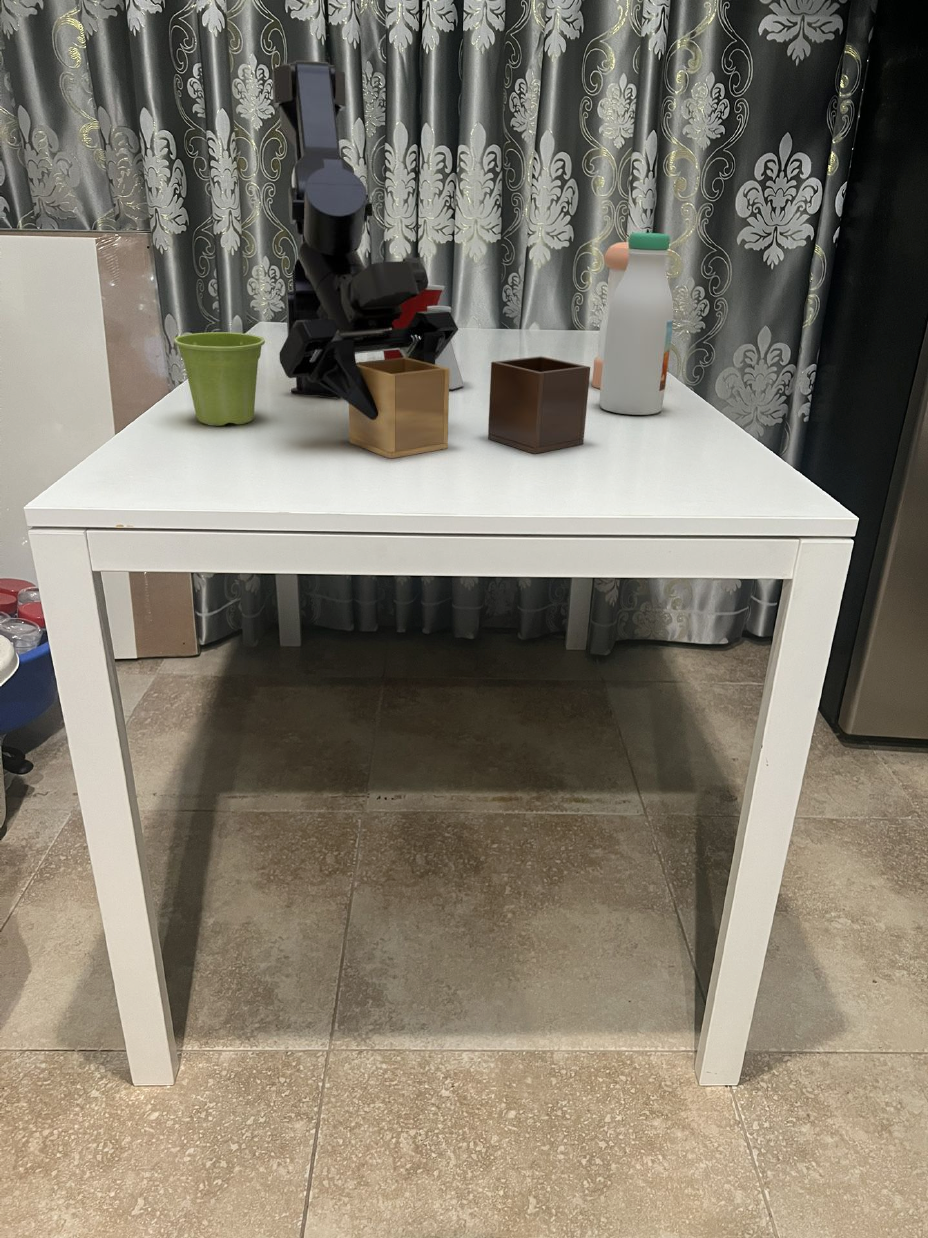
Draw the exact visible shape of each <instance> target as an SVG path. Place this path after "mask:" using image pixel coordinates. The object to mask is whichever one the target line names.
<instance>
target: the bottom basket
mask: <svg viewBox="0 0 928 1238" xmlns="http://www.w3.org/2000/svg"><path fill="white" fill-rule="evenodd" d="M590 375H591V366H588V365H584V364H579V363H573V362H569V361H565V360H561V359H556V358H551V357H547V356H543V355H539V356H533V357H530V356H529V357H523V358H522V357H521V358H514V359H513V358H512V359H504V360H495V361H491V363H490V380H489V381H490V382H489V403H488V405H489V407H488V425H487V440H490V441H494V442H497V443H499V444H503V445H506V446H508V447H512V448H514V449H518V450H521V451H524V452H527V453H531V454H533V455H536V454H540V453H546V452H551V451H557V450H561V449H565V448H571V447H576V446H581V445H584V441H585V439H584V438H585V433H586V432H585V430H586V419H587V408H588V397H589V387H590V385H589V384H590Z"/></svg>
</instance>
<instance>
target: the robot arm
mask: <svg viewBox="0 0 928 1238" xmlns="http://www.w3.org/2000/svg"><path fill="white" fill-rule="evenodd" d="M271 75H272V76H271V78H272V79H271V80H272V81H271V82H272V83H271V85H272V101H273V107H274V108H279V109H278V110H279V120H280V121H279V122H280V129H281V130H282V132H283V133H284V134H285V136H286V137H287V138H288V140H289V141H290V143H291V144H292V145H293V147H294V156H295V164H294V167H293V173H294V177H293V180H294V182H293V183H294V184H293V185H294V186H292V187H290V186H289V187H288V214H289V215H288V216H289V223H290V225H296V233H297V234H298V235H299V236H300V242H301V243H300V248H299V251H298V258H297V259H296V261H295V264H294V267H293V270H292V272H291V290H286V327H287V329H286V330H287V337H286V339H285V341H284V343H283V345H282V347H281V349H280V351H279V352H278V353H279V354H278V355H279V363H280V365H281V367H282V369H283V372H284V373H285V376H286V377H287V378H289V379H295V384H296V385H295V387H294V388H291V389H290V394H294V395H300V396H302V395H303V396H312V397H313V396H314V397H324V398H335V399H337V398H338V399H339V398H341V399H343V400H344V401H345V402H347V403H348V405H349V404H351V405H352V406H353V407H355V408H356V409H357V410H359V411H360V412H361V413H363V414H364V415H365V416H367V417H368V418H369V419H371V420H375V419H376V418H377V416H378V410H377V407H376V405H375V402H374V399H373V397H372V395H371V393H370V391H369V389H368V387H367V385H366V383H365V380H364V378H363V376H362V374H361V372H360V370H359V368H358V366H357V364H356V363H357V360H356V354H357V355H358V354H366V353H377V352H383V351H388V350H398V349H399V352H400V354H401V356H402V358H404V357H407V358H411V359H414V360H418V361H422V362H426V363H430V364H434V365H435V360H436V359H437V358H438V357H439V355H440V354H441V353H442V351H443V350H444V349H445V347H446V346H447V344H448V343H449V342H450V340H451V341H452V339H453V338H454V336H455V335H456V334H457V332H458V331H459V327H458V325H457V323H456V321H455V319H454V317H453V316H452V313H451V312H448V311H442V310H441V311H426V312H416V314H415V315H414V317H413V318H412V320H411V322H410V323H409V325H408V326H407V328H396V329H394V325H393V321H394V320H396V319H399V317H400V316H401V314H402V312H403V311H402V309H401V307H400V305H401V304H403V303H404V302H406V301H408V300H409V299H411V298H416V297H417V296H419V293H420V292H422V291H423V290H425V289H426V288H427V287H428V284H429V276H428V274H427V270H426V268H425V266H424V265H423V264H422V262H421V260H420V259H419V257H404V258H403V259H402V261H401V260H399V261H398V260H395V261H378V262H374V263H372V264H370V265H368V266H367V267H366V266H365V265H364V263H363V261H362V258H361V257H360V255H359V253H358V250H359V248H360V247H361V244H362V239H363V229H364V225H365V224H366V223H368V217H373V203H372V202H371V201H370V200H368V199H367V193H368V192H367V187H366V186H365V185H364V183H363V181H362V179H360V177H359V176H358V175H356V173H355V170H354V167H353V166H352V165H351V164H350V163H349V162H348V161H346V159H345V158H344V157H342V156H341V155H342V154H341V149H340V148H341V147H340V140H339V132H338V128H339V127H338V126H339V125H338V124H339V119H340V111H342V112H343V111H344V110H345V108H346V107H347V106H346V104H347V103H346V73H345V72H344V71H341V70H338V69H336V67H335V65H333V64H330V63H329V62H327V61H314V60H312V61H311V60H300V59H299V60H298V59H297V60H295V61H294V62H289V63H281V65H279V66H278V67H275V68H273V69H272V74H271Z"/></svg>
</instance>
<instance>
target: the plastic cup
mask: <svg viewBox="0 0 928 1238" xmlns="http://www.w3.org/2000/svg"><path fill="white" fill-rule="evenodd" d="M444 290H445V285H441V284H433V283H432V284H431V283H428V287H427V288H426V289H425V290H423V291H422V292H420V293H419V296H417V297H416V298H411V299H409V300H408V301H406V302H404V303H403V304H401V305H400V307H401V309H402V311H403V312H402V314H401V316H400V317H399V319H396V320H394V321H393V325H394V329H396V328H407V326H408V325H409V323H410V322H411V320H412V318H413V317H414V315H415V314H416V312H426V311H427V307H428V306H439V301H440V298H441V295H442V293H443V291H444ZM382 353H383V357H384V359H383V360H386V359H395V358H402V356H401V354H400V352H399V349H398V350H388V351H382Z"/></svg>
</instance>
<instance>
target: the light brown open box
mask: <svg viewBox="0 0 928 1238" xmlns="http://www.w3.org/2000/svg"><path fill="white" fill-rule="evenodd" d="M356 364H357V366H358V368H359V370H360V372H361V374H362V376H363V378H364V380H365V383H366V385H367V387H368V389H369V391H370V393H371V395H372V397H373V399H374V402H375V405H376V407H377V410H378V416H377V418H376V419H375V420H371V419H369V418H368V417H367V416H365V415H364V414H363V413H361V412H360V411H359V410H357V409H356V408H355V407H353V406H352V405H351V404H349V403H348V424H349V425H348V426H349V427H348V428H349V430H348V431H349V433H348V434H349V435H348V436H349V444H352V445H355V446H356V447H360V448H362V449H364V450H367V451H370V452H372V453H375V454H377V455H380V456H382V457H385V458H387V459H396V458H402V457H407V456H412V455H413V456H414V455H417V454H419V455H420V454H423V453H429V452H434V451H440V450H445V449H448V447H449V446H448V445H449V443H448V442H449V413H450V411H449V410H450V409H449V406H450V389H449V373H450V369H449V368H446V367H442V366H438V365H434V364H430V363H426V362H422V361H418V360H414V359H411V358H407V357H404V358H395V359H386V360H385V359H378V360H377V359H376V360H368V361H358V362H357V361H356Z"/></svg>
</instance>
